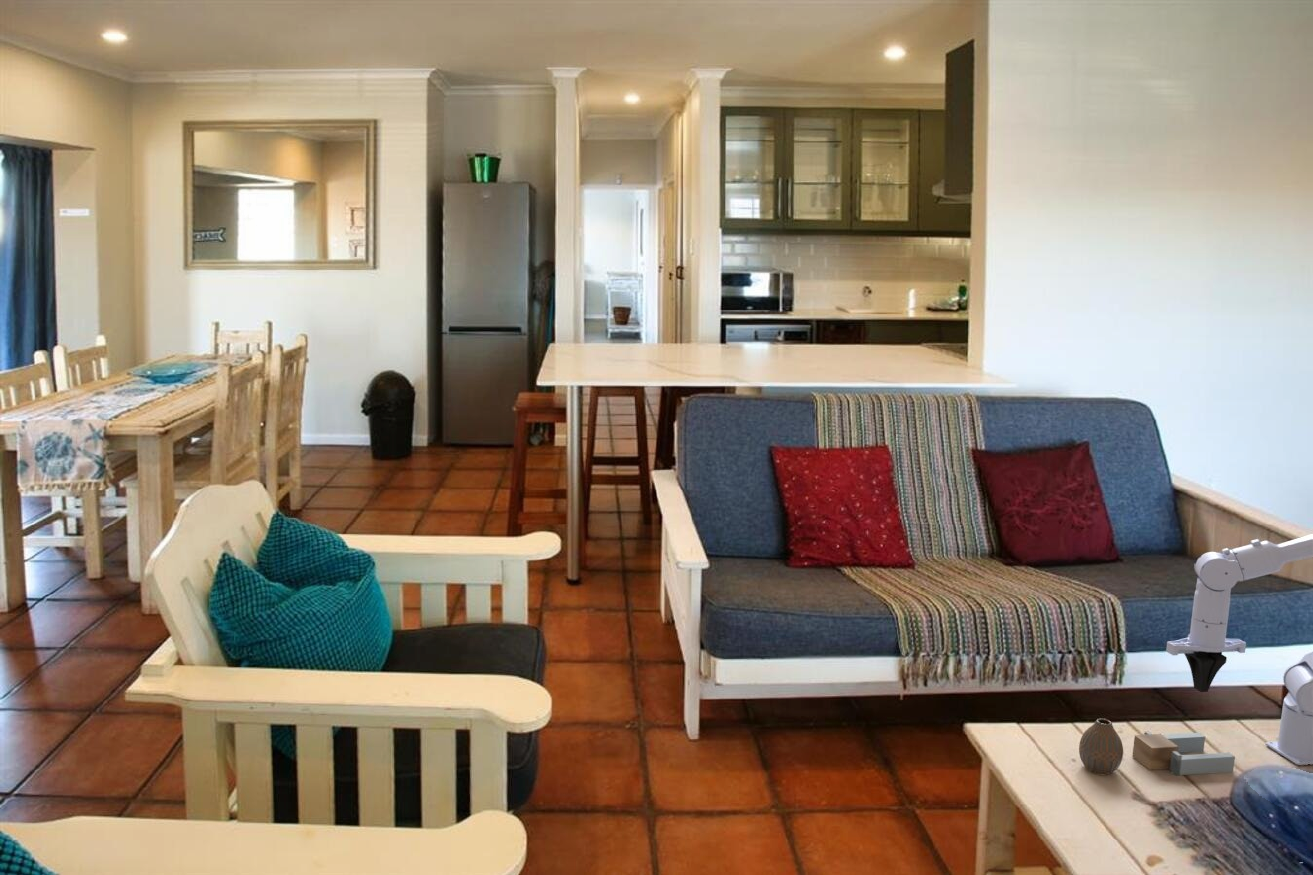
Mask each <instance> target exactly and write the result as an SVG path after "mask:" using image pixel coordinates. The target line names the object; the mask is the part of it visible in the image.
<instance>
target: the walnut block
mask: <svg viewBox="0 0 1313 875" xmlns="http://www.w3.org/2000/svg"><path fill="white" fill-rule="evenodd" d="M1163 735H1164V734H1162V733H1154V734H1153V733H1152V734H1149V735H1144V734H1135V735H1134V739H1133V748H1132V749H1133V750H1132V758H1134V759H1135V760H1137V762H1139V763H1140V764H1141V765H1143V766H1144V767H1145V768H1146V769H1148V770H1150V771H1151V770H1167V769H1169V770H1170V764H1171V756H1172V751H1177V752H1178V746H1177V745H1175V744H1174V743H1173V742H1171V741H1170V740H1168V739H1167V738H1166V737H1164V736H1163Z"/></svg>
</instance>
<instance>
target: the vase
mask: <svg viewBox="0 0 1313 875" xmlns="http://www.w3.org/2000/svg"><path fill="white" fill-rule="evenodd" d="M1078 752H1079V758H1080V760H1081V762H1082V764H1083V765H1084V767H1086V769H1087V770H1088V771H1090V772H1091V773H1094V774H1097V775H1102V776H1105V775H1106V776H1107V775H1110V774H1112V773H1114V772H1116V771H1117V770H1118V769H1119V767H1120V766H1121V764H1122V762H1123V758H1124V745H1123V741H1122V739H1121V737H1120V736H1119V734H1118V732H1117V731H1116V729H1115V728H1114V726H1113V722H1111V721H1110V720H1109V719H1107V718H1097V719H1095V721H1094V723H1093V724H1092V725H1091V726H1089V727H1088V728H1087V729H1086V730H1084V732H1083V733H1082V736H1081V737H1080V740H1079V746H1078Z"/></svg>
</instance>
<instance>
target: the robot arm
mask: <svg viewBox="0 0 1313 875" xmlns="http://www.w3.org/2000/svg"><path fill="white" fill-rule="evenodd" d="M1221 552H1222V553H1221ZM1221 552H1216V551H1208V552H1205V553H1203V554H1202V555H1201V556H1200V557H1198V558H1197V560H1196V561H1195V562H1196V563H1194V564H1193V565H1194V566H1193V567H1194V571H1195V574H1196V575H1197V578H1196V579H1197V580H1196V583H1195V591H1194V596H1193V604H1192V611H1191V612H1192V614H1191V622H1190V630H1189V634H1188V635H1187V637H1185V638H1180V639H1178V640H1170V641H1167V642H1166V649H1165V652H1167V653H1168V654H1170V655H1171V656H1178V655H1180V654H1182V655H1183V654H1184V657H1185V658H1186V660H1187V662H1188V665H1189V668H1190V671H1191V676H1192V684H1193V689H1195V690H1197V691H1199V692H1200V693H1205V692H1206V693H1207V692H1209V690H1210V687H1211V686H1212V683H1213V681H1214V679H1215V677H1216V676H1217V674H1218V672H1219V671H1220V669H1221V668H1222V667H1223V666H1224V665H1225V664H1226V663H1227V658H1228V657H1227V656H1225V655H1223V653H1229V652H1230V653H1231V652H1236V653H1239V654H1242V653H1245V652H1246V647H1247V642H1246V641H1243V640H1241V639H1240V638H1226V637H1227V630H1228V622H1229V621H1228V620H1229V615H1230V614H1229V613H1230V607H1231V592H1232V588H1234V587H1235V586H1236V584H1237V583H1238V582H1244V581H1247V580H1251V579H1255V578H1259V577H1263V576H1267V575H1270V574H1271V575H1272V574H1275V573H1279V571H1281V569H1282V568H1283V567H1284V566H1285V564H1286V563H1290V562H1297V561H1301V560H1305V559H1310V558H1313V533H1311V534H1307V535H1305V536H1301V537H1298V538H1295V539H1292V540H1288V541H1285V542H1280V543H1278V544H1276V543H1273V542H1271V541H1269V540H1263V541H1261V540H1260V539H1258V538H1256V539H1253V540H1250V544H1247V545H1243V546H1240V547H1235V548H1232V549H1229V547H1228V548H1227V547H1226V548H1223V549H1221ZM1282 678H1283V684H1284V686H1285V688H1286V689H1287V690H1288V691H1287V692H1288V693H1287V694H1286V696H1285V697H1284V699H1283V703H1282V709H1281V716H1280V724H1279V731H1278V739H1277V740H1276V741H1266V742H1265V743H1264V744H1265V746H1266V747H1268V748H1270V749H1271V750H1273V751H1275V752H1276V753H1278V754H1279V755H1281V756H1283V757H1284V758H1286V759H1287V760H1289V761H1290V762H1292V763H1294V765H1298V766H1304V765H1305V766H1307V765H1308V764H1310V765H1313V651H1311V652H1308V653H1306V654H1304V656H1303V657H1302V658H1301V659H1300V660H1298V662H1295V663H1294V664H1292V665H1290V666H1289V667H1288V668H1287V669H1286V670H1285V671H1284V672H1283V677H1282Z"/></svg>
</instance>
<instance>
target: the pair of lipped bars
mask: <svg viewBox="0 0 1313 875" xmlns="http://www.w3.org/2000/svg"><path fill="white" fill-rule="evenodd" d="M1149 734H1153V733H1152V732H1150V731H1149V730H1148V731H1144V734H1143V735H1149ZM1162 735H1163V736H1164V737H1166V738H1167V739H1168V740H1170V741H1171V742H1173V743H1174V744H1175V745H1177V746H1178V752H1177V751H1172V756H1171V764H1170V769H1169V772H1171V774H1173V775H1175V776H1184V775H1185V776H1186V775H1187V776H1188V775H1202V774H1203V775H1204V774H1218V773H1219V774H1220V773H1233V772H1234V769H1235V768H1234V766H1235V760H1236V757H1235V755H1233V753H1230V752H1215V753H1213V752H1212V753H1200V754H1199V753H1197V754H1181V753H1193V752H1194V753H1195V752H1204V749H1205V741H1206V736H1205V735H1204V734H1202V733H1201V732H1187V733H1173V734H1171V733H1170V734H1168V733H1167V734H1162Z"/></svg>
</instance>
